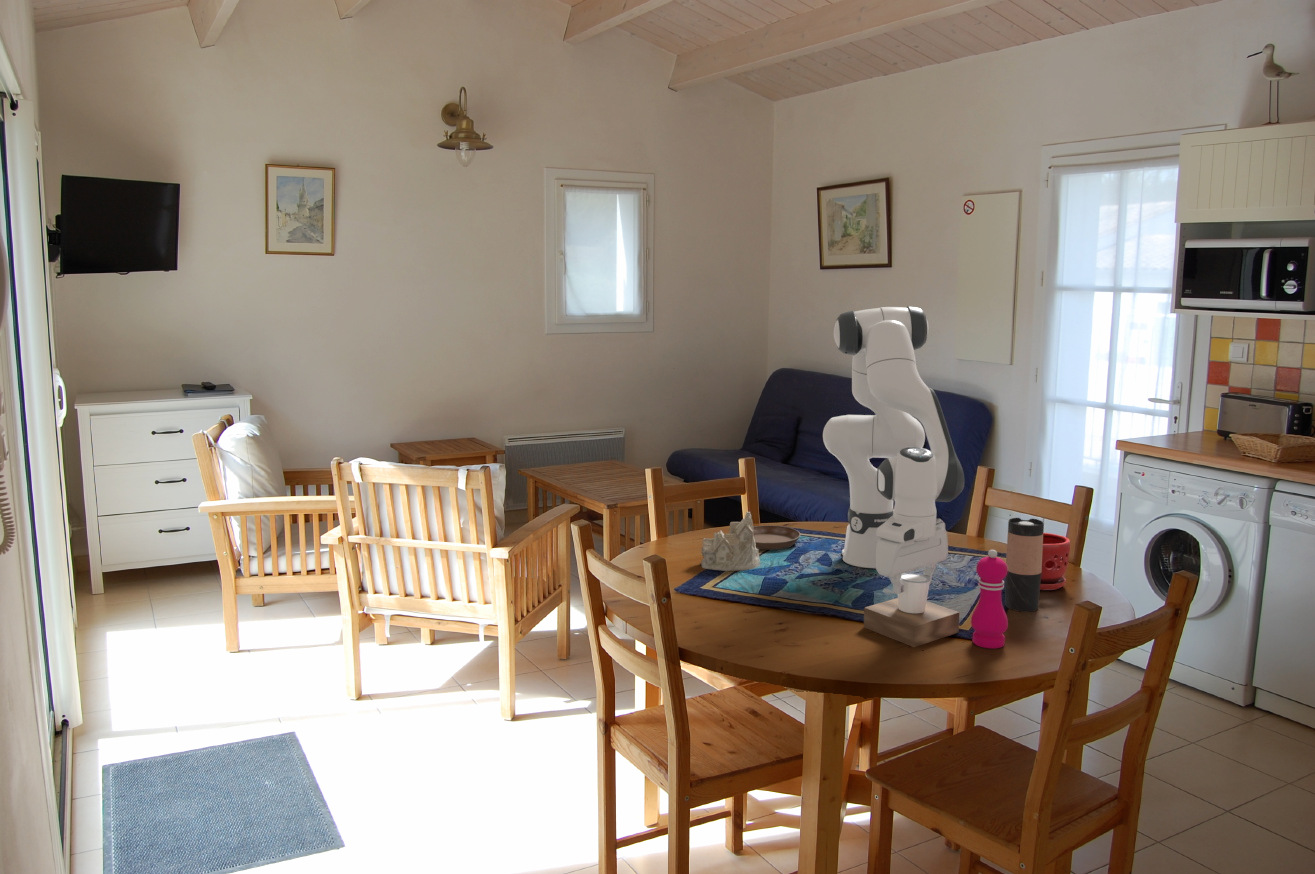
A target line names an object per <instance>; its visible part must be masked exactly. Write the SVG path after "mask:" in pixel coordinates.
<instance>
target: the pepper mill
mask: <svg viewBox="0 0 1315 874" xmlns="http://www.w3.org/2000/svg"><path fill="white" fill-rule="evenodd" d="M987 555H988V556H984V557H982V558H980V559H979V560H978V561H977V564H976V574H977V575H978V576H979V578H978V579H977V580H978V584H977V586H978V587H979V588H980V593H979V599H978V601H977V605H976V607H975V608H974V610H973V612H972V615H971V618H970V625H971V627H972V628H973V630H974V632H973V633H972V643H973V644H974V645H976V646H978V647H981V648H984V649H1000V648H1002V647H1003V648H1004V646H1005V639H1006V637H1005V635H1004V633H1005V632H1006V631H1007V629H1008V627H1009V622H1008V616H1007V613H1006V611H1005V609H1004V606H1003V602H1002V601H1003V600H1002V590H1004V588H1005V577H1006V575H1007V565H1006V561H1004V560H1003V559H1002V558H1000V557H998V552H997V550H996V549H989V550H988V551H987Z"/></svg>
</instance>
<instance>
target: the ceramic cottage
mask: <svg viewBox="0 0 1315 874" xmlns="http://www.w3.org/2000/svg"><path fill="white" fill-rule="evenodd" d="M753 527H754V522H753V519H752V514H751V511H746V512H745V515H744V517H743V518H742V519H741V521H730V523H729V530H728V531H729V532H728V533H724V532H723V531H722V530H721V529H720V530H719V531H718V532H714V533H713V538H708V537H707V538H706V537H704V538H703V540H702V547H701V549H700V550H701V551H700V552H701V556H702V557H703V559H702V560H701V563H700V565H701V567H702V568H703V569H706V570H713V571H723V572H730V571H733V572H734V571H735V572H737V571H747V570H748V569H749V570H752V569H756V568H758V567H759V566H760V565H761V560H760V554H759V553H760V552H759V551H760V549H757V548H756V543H755V539H754V537H753V536H754V533H753Z"/></svg>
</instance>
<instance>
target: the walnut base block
mask: <svg viewBox="0 0 1315 874" xmlns="http://www.w3.org/2000/svg"><path fill="white" fill-rule="evenodd" d="M863 611H864V612H863V628H864V629H867V630H869V631H871V632H872V631H873V632H875V633H877V634H879V635H882V636H885V637H887V638H889V639H892V640H894V641H896V642H900V643H902V644H905V645H907V646H910V647H912V648H916V647H920V646H921V645H926V644H928V643H931V642H934V641H937V640H940V639H943V638H946V637H949V636H952V635H956V634H958V633H959V630H960V611H957V610H954V609H951V608H948V607H946V606H943V605H940V604H937V603H934V602H931V601H926V607H925V611H924V612H923V613H907V612H903V611H901V610H899V609H898V597H896V598H892V599H889V600H885V601H883V602H882V601H881V602H878V603H876V604H873V605H872V604H871V605H869V606H865V607H864V608H863Z"/></svg>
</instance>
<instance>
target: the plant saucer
mask: <svg viewBox="0 0 1315 874" xmlns="http://www.w3.org/2000/svg"><path fill="white" fill-rule="evenodd" d="M753 533H754V536H753V537H754V539H755V543H756V548H757V549H758V550H765V551H766V550H767V551H769V550H771V551H773V550H774V551H775V550H776V551H777V550H784V549H788V548H791V547H792V546H794V544H796V543H797V542H798V540H799V538H800V537H801V532H800V531H799V530H797V529H795V528H792V527H788V526H781V525H769V524H768V525H753Z"/></svg>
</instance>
